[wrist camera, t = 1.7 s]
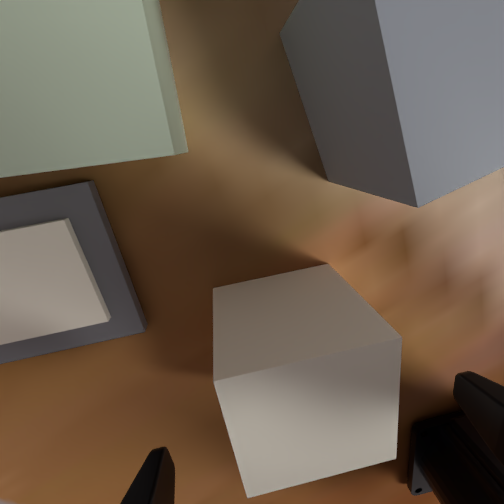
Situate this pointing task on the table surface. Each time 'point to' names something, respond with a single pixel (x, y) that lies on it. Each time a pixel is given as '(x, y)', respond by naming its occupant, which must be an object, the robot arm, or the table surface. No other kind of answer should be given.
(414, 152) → the slate cube
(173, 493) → the robot arm
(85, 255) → the swatch
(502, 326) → the table surface
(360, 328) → the cream cube
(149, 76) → the sage block
